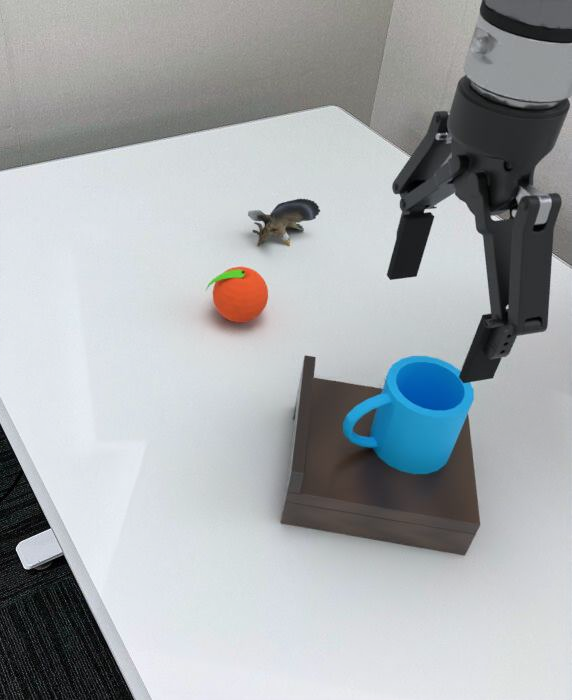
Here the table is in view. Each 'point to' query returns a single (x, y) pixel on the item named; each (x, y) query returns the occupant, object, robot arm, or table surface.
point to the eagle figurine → (284, 218)
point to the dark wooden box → (372, 477)
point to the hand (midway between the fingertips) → (435, 323)
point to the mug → (415, 415)
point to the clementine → (239, 294)
